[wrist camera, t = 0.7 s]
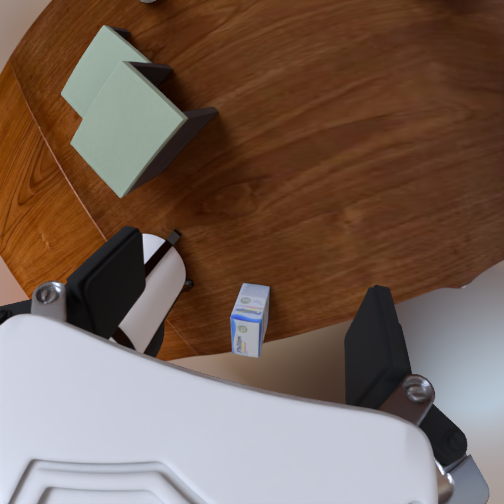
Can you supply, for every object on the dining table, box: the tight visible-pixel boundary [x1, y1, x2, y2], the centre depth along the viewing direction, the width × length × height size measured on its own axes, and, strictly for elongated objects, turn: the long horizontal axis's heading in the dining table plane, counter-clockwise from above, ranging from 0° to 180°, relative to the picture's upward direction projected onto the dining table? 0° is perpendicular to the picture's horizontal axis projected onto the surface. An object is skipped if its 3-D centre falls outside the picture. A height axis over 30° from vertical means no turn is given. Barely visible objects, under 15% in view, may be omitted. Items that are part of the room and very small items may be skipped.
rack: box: [61, 25, 218, 198], centre depth 30 cm, size 12×20×11 cm, turn 44°
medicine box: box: [231, 283, 270, 357], centre depth 45 cm, size 8×4×9 cm, turn 179°
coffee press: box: [109, 229, 194, 358], centre depth 36 cm, size 17×16×30 cm
